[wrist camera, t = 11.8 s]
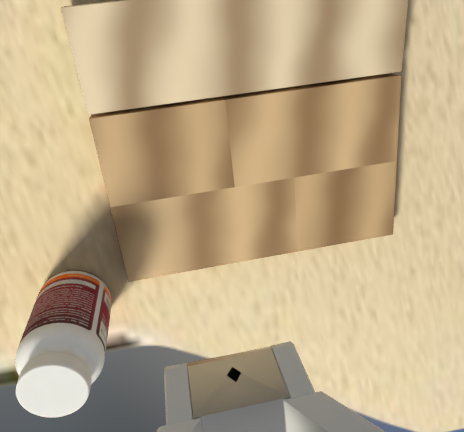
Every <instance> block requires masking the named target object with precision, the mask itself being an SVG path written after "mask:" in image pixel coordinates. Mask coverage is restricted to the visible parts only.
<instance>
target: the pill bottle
mask: <svg viewBox="0 0 464 432" xmlns="http://www.w3.org/2000/svg"><path fill="white" fill-rule="evenodd" d="M110 311H111V295H110V292H109V289H108V288H107V286H106V285H105V284H104V283H103V282H102V281H101V280H100V279H99V278H97V277H96V276H94V275H92V274H89V273H86V272H82V271H67V272H62V273H59V274H57V275H55V276H53V277H52V278H50V279H49V280H48V281H47V282H46V283H45V284H44V285H43V287H42V288H41V290H40V292H39V294H38V297H37V300H36V302H35V305H34V307H33V310H32V313H31V315H30V318H29V320H28V323H27V326H26V328H25V331H24V333H23V336H22V339H21V341H20V344H19V347H18V349H17V352H16V358H15V364H16V370H17V372H18V374H19V379H18V382H17V386H16V396H17V399H18V401H19V403H20V404H21V405H22V406H23V407H24V408H25V409H26V410H28V411H29V412H31V413H33V414H36V415H39V416H43V417H61V416H65V415H68V414H71V413H73V412H75V411H76V410H78V409H79V408H80V407H81V406H82V405H83V404H84V403H85V402H86V400H87V398H88V395H89V391H90V386H91V384H92V383H93V382H94V381H95V380H96V378H97V377H98V376H99V374H100V373H101V370H102V367H103V365H104V359H105V352H106V344H107V336H108V327H109V319H110Z"/></svg>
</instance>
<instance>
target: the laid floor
mask: <svg viewBox="0 0 464 432" xmlns="http://www.w3.org/2000/svg"><path fill="white" fill-rule="evenodd" d="M400 91H401V75H397V74H392V73H389V74H382V75H375V76H368V77H360V78H353V79H346V80H339V81H331V82H324V83H317V84H310V85H302V86H295V87H288V88H281V89H274V90H266V91H259V92H252V93H245V94H237V95H230V96H223V97H216V98H208V99H201V100H194V101H187V102H179V103H172V104H165V105H158V106H150V107H143V108H136V109H129V110H121V111H114V112H107V113H100V114H92V115H91V116H90V118H89V121H90V125H91V129H92V133H93V137H94V142H95V146H96V150H97V154H98V158H99V162H100V166H101V170H102V175H103V179H104V183H105V187H106V191H107V195H108V199H109V204H110V208H111V212H112V216H113V220H114V224H115V228H116V232H117V237H118V241H119V245H120V249H121V253H122V257H123V261H124V266H125V270H126V274H127V278H128V282H130V281H136V280H141V279H147V278H153V277H158V276H164V275H169V274H175V273H180V272H186V271H191V270H197V269H203V268H208V267H214V266H219V265H225V264H230V263H236V262H241V261H247V260H253V259H258V258H264V257H269V256H275V255H280V254H286V253H291V252H297V251H303V250H308V249H314V248H319V247H325V246H330V245H336V244H341V243H347V242H352V241H358V240H364V239H369V238H375V237H380V236H386V235H391V234H393V224H394V205H395V186H396V167H397V148H398V129H399V110H400Z"/></svg>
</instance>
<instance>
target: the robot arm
mask: <svg viewBox="0 0 464 432" xmlns="http://www.w3.org/2000/svg"><path fill="white" fill-rule="evenodd" d="M164 378H165V379H164V380H165V404H166V426H161V427H159V429H158V430H157V432H385V431H383V430H382V429H380V428H378V427H377V426H375V425H374V424H372V423H371V422H369V421H367V420H366V419H364V418H363V417H361V416H360V415H358V414H356V413H355V412H353V411H352V410H350V409H349V408H347V407H345V406H344V405H342V404H341V403H339V402H338V401H336V400H334V399H333V398H331V397H330V396H328V395H327V394H325V393H323V392H322V391H321V392H316V393H315V391H314V389H313V386H312V384H311V382H310V380H309V377H308V375H307V373H306V371H305V369H304V366H303V364H302V362H301V360H300V358H299V355H298V353H297V351H296V349H295V346H294V344H293V343H292V342H286V343H281V344H277V345H272V346H270V347H264V348H260V349H255V350H250V351H246V352H241V353H236V354H231V355H227V356H221V357H216V358H210V359H204V360H199V361H193V362H188V363H185V364H179V365H174V366H168V367H165V371H164Z"/></svg>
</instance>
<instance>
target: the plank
mask: <svg viewBox="0 0 464 432" xmlns="http://www.w3.org/2000/svg"><path fill="white" fill-rule="evenodd" d="M407 9H408V0H117V1H108V2H99V3H90V4H81V5H72V6H64V7H62V8H61V11H62V15H63V19H64V23H65V27H66V31H67V35H68V39H69V42H70V46H71V50H72V54H73V58H74V62H75V66H76V70H77V74H78V78H79V81H80V85H81V89H82V93H83V97H84V101H85V105H86V109H87V113H88V115H90V114H97V113H104V112H112V111H119V110H126V109H133V108H141V107H148V106H155V105H162V104H170V103H177V102H184V101H191V100H199V99H206V98H213V97H220V96H228V95H235V94H242V93H249V92H257V91H264V90H271V89H278V88H286V87H293V86H300V85H307V84H315V83H322V82H329V81H336V80H344V79H351V78H358V77H365V76H372V75H380V74H387V73H394V72H401V71H402V61H403V51H404V40H405V30H406V19H407Z"/></svg>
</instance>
